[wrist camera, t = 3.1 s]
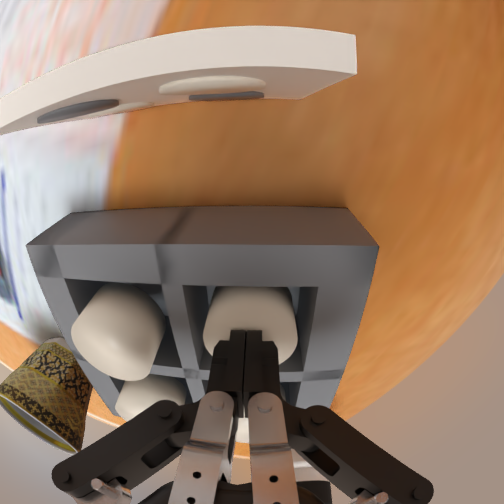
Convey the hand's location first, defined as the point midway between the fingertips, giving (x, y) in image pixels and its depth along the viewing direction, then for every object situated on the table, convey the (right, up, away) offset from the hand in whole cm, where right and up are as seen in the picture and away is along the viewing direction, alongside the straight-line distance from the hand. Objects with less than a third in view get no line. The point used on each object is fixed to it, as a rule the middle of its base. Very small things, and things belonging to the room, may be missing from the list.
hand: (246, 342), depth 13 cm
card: (-3, +13, 0) cm, 13 cm away
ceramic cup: (-20, -8, +11) cm, 25 cm away
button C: (-7, +1, +1) cm, 7 cm away
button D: (-7, -6, +5) cm, 10 cm away
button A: (0, +1, +3) cm, 3 cm away
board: (-3, -1, +7) cm, 7 cm away
